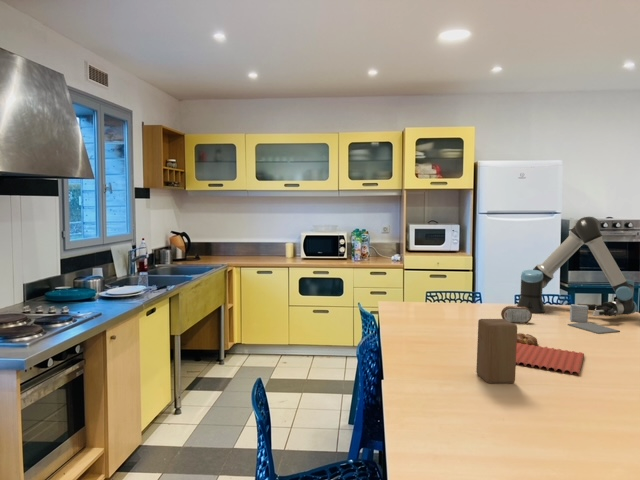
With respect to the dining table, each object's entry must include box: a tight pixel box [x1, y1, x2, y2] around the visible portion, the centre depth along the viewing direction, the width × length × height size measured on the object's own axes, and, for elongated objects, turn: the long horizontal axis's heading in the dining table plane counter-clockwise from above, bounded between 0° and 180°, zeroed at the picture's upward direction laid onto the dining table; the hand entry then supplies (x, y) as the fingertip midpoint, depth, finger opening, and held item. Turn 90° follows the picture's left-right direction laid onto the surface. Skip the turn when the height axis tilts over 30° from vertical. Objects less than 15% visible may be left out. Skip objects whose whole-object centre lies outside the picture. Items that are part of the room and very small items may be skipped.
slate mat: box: [567, 321, 621, 334], centre depth 239 cm, size 18×14×1 cm
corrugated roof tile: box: [516, 343, 585, 377], centre depth 187 cm, size 28×28×2 cm
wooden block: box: [475, 318, 518, 384], centre depth 163 cm, size 10×10×20 cm
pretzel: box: [517, 332, 538, 346], centre depth 210 cm, size 12×11×4 cm
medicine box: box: [569, 304, 589, 323], centre depth 254 cm, size 8×4×9 cm, turn 71°
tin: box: [500, 305, 533, 324], centre depth 249 cm, size 15×3×8 cm, turn 84°
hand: (582, 310), depth 253 cm, fingers open, 13 cm apart
